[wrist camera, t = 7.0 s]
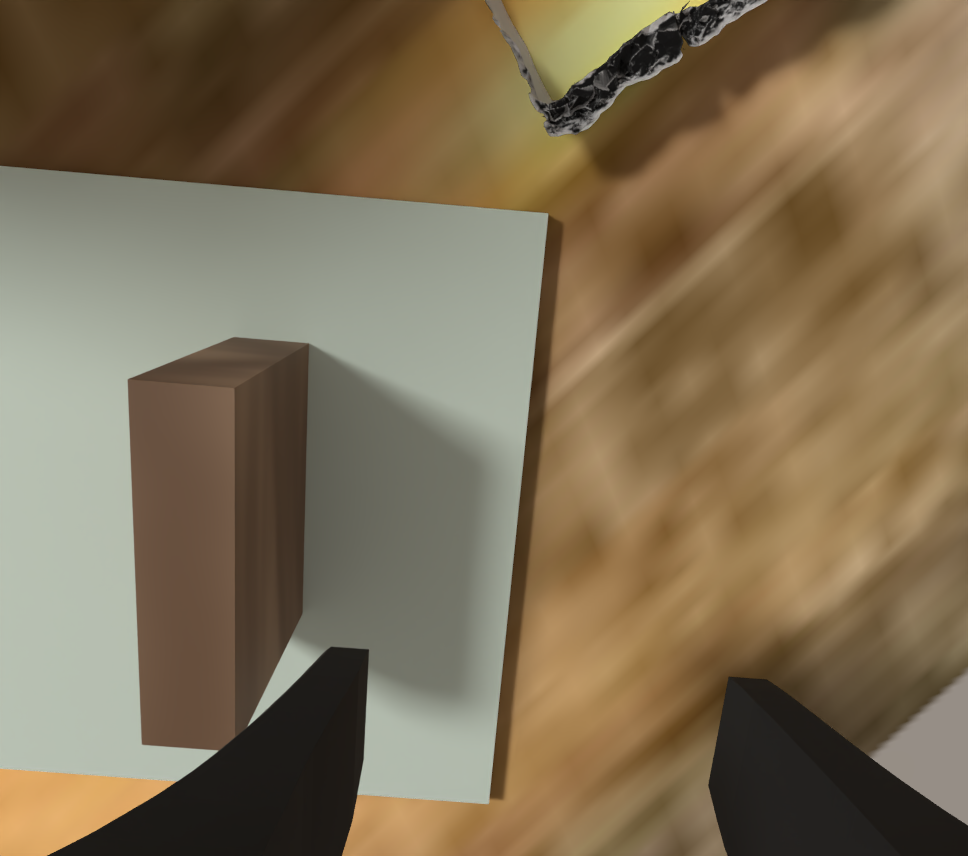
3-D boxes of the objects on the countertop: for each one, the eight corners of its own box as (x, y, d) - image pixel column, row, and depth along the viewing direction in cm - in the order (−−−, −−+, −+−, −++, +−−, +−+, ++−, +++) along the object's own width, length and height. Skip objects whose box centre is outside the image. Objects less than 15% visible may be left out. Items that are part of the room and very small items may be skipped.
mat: (488, 792, 24) (488, 804, 23) (-75, 751, 24) (-87, 762, 23) (546, 213, 19) (548, 213, 19) (-150, 153, 19) (-167, 151, 18)
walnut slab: (308, 343, 20) (234, 388, 14) (302, 613, 22) (235, 751, 16) (233, 336, 20) (127, 378, 14) (234, 608, 22) (141, 745, 16)
